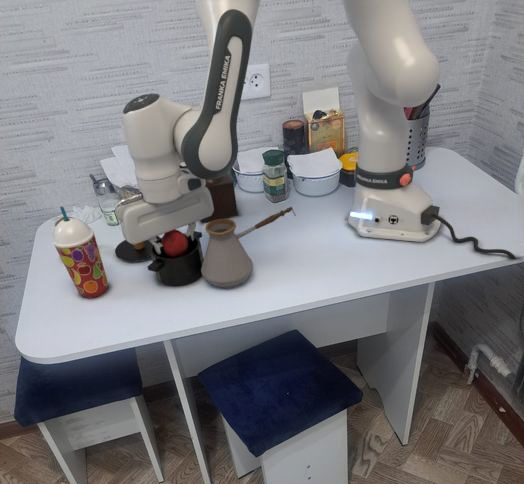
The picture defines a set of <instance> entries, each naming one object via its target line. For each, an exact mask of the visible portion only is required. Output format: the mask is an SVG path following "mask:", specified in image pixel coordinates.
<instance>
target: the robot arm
mask: <svg viewBox="0 0 524 484" xmlns="http://www.w3.org/2000/svg"><path fill="white" fill-rule="evenodd" d="M341 2H342V6H343V10H344V14H345V17H346V21H347V24H348V25H349V27H350V28H351V30H352V31H353V32H354V35H355V36H356V38H357V40H356V41H355V42H354V43H353V44H352V46H351V47H350V49H349V51H348V54H347V57H346V63H345V65H346V66H345V67H346V72H347V75H348V78H349V79H350V83H351V86H352V91H353V96H354V103H355V111H356V118H357V125H358V141H357V143H358V146H357V162H356V163H355V167H354V168H355V169H354V175H353V177H354V178H353V179H354V187H355V188H354V194H353V200H352V203H351V208H350V211H349V214H348V216H347V222H348V224H349V225H350V226H351V227H352V228H353V229H355V230H356V231H357V234H358V236H360V237H364V238H373V239H374V238H375V239H385V240H395V241H407V242H416V243H424V242H426V241H428V240H429V239H432V238H433V237H434V236H435V235H436V234H437V233H438V231H439V229H440V228H441V224H443V225H444V226H445V227H446V228H447V229H448V231H449V233H450V237H451V239H452V240H453V241H454V242H456V243H465V242H468V241H472V242H473V249H474V250H475V251H477V252H479V253H483V254H504V255H507V256H508V257H509V258H510V259H511V260H513V261H516V260H517V257H516V256H515V254H514V253H512V252H511V251H509V250H507V249H501V248H489V249H488V248H482V247H480V246H479V240H478V238H477V237H476V236H475V237H474V236H467V237H464V238H463V237H462V238H458V237H457V236H456V233H455V230H454V228H453V226H452V225H451V224H450V223H449V222H448V221H447V220H446V219H444V218H443V217H441V215H440V214H439V213H440V209H441V208H440V206H437V205H434V203H433V199H432V196H431V195H430V194H429V193H428V192H427V191H425V190H424V189H423V188H422V187H421V186H419V184H418V183H416V181H415V180H413V179H414V173H415V170H416V165H413V166H412V167H411V166H410V165H409V164H408V161H407V157H408V149H409V141H410V133H411V130H410V124H409V121H408V119H407V116H406V113H405V109H404V108H415V107H419V106H421V105H422V104H424V103H426V102H427V101H428V100H429V99H430V98H431V97H432V95H433V94H434V92H435V91H436V88H437V86H438V84H439V81H440V75H441V67H440V63H439V61H438V59H437V57H436V56H435V54H434V53H433V52H432V51H431V49H430V48H429V46H428V44H427V43H426V40H425V38H424V35H423V33H422V31H421V29H420V26H419V24H418V22H417V18H416V16H415V14H414V11H413V9H412V6H411V4H410V1H409V0H341ZM260 3H261V0H195V1H194V6H195V7H194V8H195V11H196V14H197V17H198V20H199V22H200V24H201V26H202V29H203V31H204V34H205V37H206V41H207V47H208V68H207V72H206V78H205V85H204V90H203V94H202V95H203V96H202V102H201V106H198V105H194V104H184V103H180V102H179V103H178V102H176V101H173V100H170V99H167V98H165V97H163V96H162V95H160V94H159V93H153V92H152V93H147V94H142V95H138V96H136V97H134V98H132V99H131V100H130V101H129V102H128V103H126V104H125V106H124V108H123V110H122V117H121V119H122V128H123V133H124V137H125V142H126V146H127V149H128V150H127V151H128V153H129V156H130V157H131V159H132V161H133V165H134V176H135V180H136V183H137V187H138V190H139V192H138V193H135V194H133V195H130V196H128V197H123V198H121V199H120V200H119V202H118V203H117V204H116V205H115V207H114V210H115V211H114V212H115V214H116V218H117V219H118V221H119V222H120V223H119V224H120V228H121V233H122V236H123V238H124V240H127V241H128V242H129V243H131V244H133V245H135V244H138V243H140V242H143V241H146V240H148V241H150V242H151V243H152V244H153V245H154V247H155V250H156V252H157V253H158V254H161V253H164V252H165V250H164V246H163V245H162V244H161V243H155V242H154V241H157V239H156V236H159V237H160V236H163V235H164V234H165V233H167V232H169V231H172V230H175V229H176V230H178V229H180V228H183V227H186V226H187V229H186V231H185V232H184V235H185V236H186V238H187V241H188V243H189V242H192V241H194V237H193V234H194V231H196V227H197V222H198V221H200V220H201V219H204V218H206V217H209V216H211V215H212V213H213V211H214V207H213V202H212V198H211V195H210V192H209V190H208V188H206V187H205V184H206V181H205V180H213V179H217V178H220V177H222V176H224V175H225V174H226V173H228V174H229V172H230V171H231V170H232V168H233V167H234V166H235V164H236V161H237V157H238V155H239V141H238V131H237V129H238V128H237V127H238V117H239V111H240V107H241V101H242V96H243V92H244V87H245V85H244V84H245V81H246V76H247V71H248V65H249V62H250V61H249V60H250V55H251V47H252V41H253V35H254V29H255V24H256V19H257V16H258V13H259V7H260V5H261V4H260ZM183 163H184V165H185V166H187V168H188V169H181V168H180V166H179V165H181V164H183Z"/></svg>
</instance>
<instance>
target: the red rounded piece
mask: <svg viewBox="0 0 524 484" xmlns="http://www.w3.org/2000/svg"><path fill="white" fill-rule="evenodd" d="M161 238H162V241H161V244H162V245H163V246H164V250H165V252H164V253H165V254H166V255H167V256H169V257H171V258H176V257H181V256H183V255H184V254H185V253H186V251H187V249H188V241H187V238H186V236H185V235H184V234H183V232H182V231H180V230H178V229H175V230H172V231H169V232H167V233H164V234H162V237H161Z"/></svg>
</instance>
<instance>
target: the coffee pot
mask: <svg viewBox="0 0 524 484" xmlns="http://www.w3.org/2000/svg"><path fill="white" fill-rule="evenodd" d="M291 212H292V214H293V215H294V217H296V213H295V211H294V208H293V206H290V207H286V209H284V210H281V209H280V211H279V212H278V213H274V214H272V215H270V216H268V217H266V218H264V219H262V220H261V221H259V222H258V223H256V224H255V225H253V226H251V227H249V228H247V229H245V230H243V231H241V232H239V233H236V234H235V229H236V228H237V223H236V221H235V220H233V219H230V218H225V219H217V220H214V221H211V222H207V224H206V225H205V228H204V229H205V232H206V233H208V235H209V239H208V242H207V246H206V249H205V253H204V255H203V258H204V260H203V264H202V268H201V273H202V275H203V276H202V278H204V279H205V281H206V282H208V283H210V284H211V285H213V286H215V287H217V288H221V289H231V288H235V287H237V286H239V285H240V286H241V284H243V283H244V282H245V281H246V279H248V278H249V277H250V275H251V273H252V272H253V268H254V262H253V261H252V258H251V257H250V256H249V254H248V252H247V251H246V249H245V247H244V246H243V244H242V243H241V242H240V241H241V240H240V239H241V238H243V237H245V236H246V235H248V234H250V233H252V232H254V231H255V230H258V229H260V228H263V227H265V226H267V225H269V224H271V223H274V222H275V221H277V220H278V219H279V218H281V217H285V215H286V214H287V213H291Z"/></svg>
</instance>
